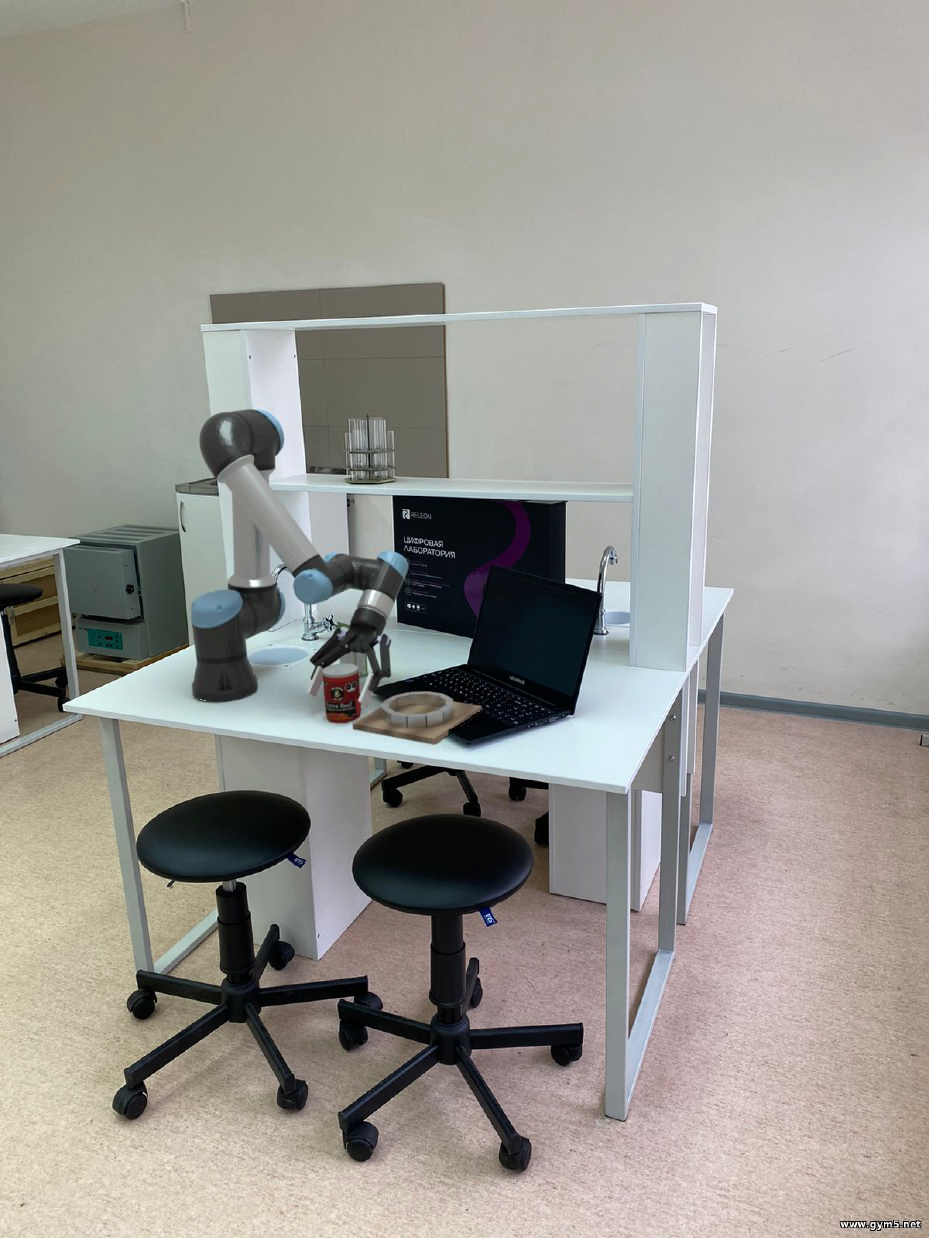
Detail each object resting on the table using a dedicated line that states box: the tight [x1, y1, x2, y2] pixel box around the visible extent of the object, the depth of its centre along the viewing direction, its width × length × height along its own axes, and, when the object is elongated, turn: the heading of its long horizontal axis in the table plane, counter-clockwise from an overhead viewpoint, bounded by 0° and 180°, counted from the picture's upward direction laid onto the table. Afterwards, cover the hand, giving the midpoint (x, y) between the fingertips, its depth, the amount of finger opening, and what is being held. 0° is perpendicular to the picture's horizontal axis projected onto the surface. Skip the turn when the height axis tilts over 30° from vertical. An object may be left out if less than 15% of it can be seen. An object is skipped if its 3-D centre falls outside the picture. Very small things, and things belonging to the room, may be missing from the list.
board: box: [352, 701, 483, 745], centre depth 202 cm, size 20×20×1 cm
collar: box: [381, 691, 454, 728], centre depth 202 cm, size 15×15×2 cm
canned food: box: [322, 663, 362, 724], centre depth 205 cm, size 8×8×11 cm
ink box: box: [336, 621, 369, 678], centre depth 232 cm, size 7×4×13 cm, turn 40°
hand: (336, 699), depth 203 cm, fingers open, 13 cm apart
